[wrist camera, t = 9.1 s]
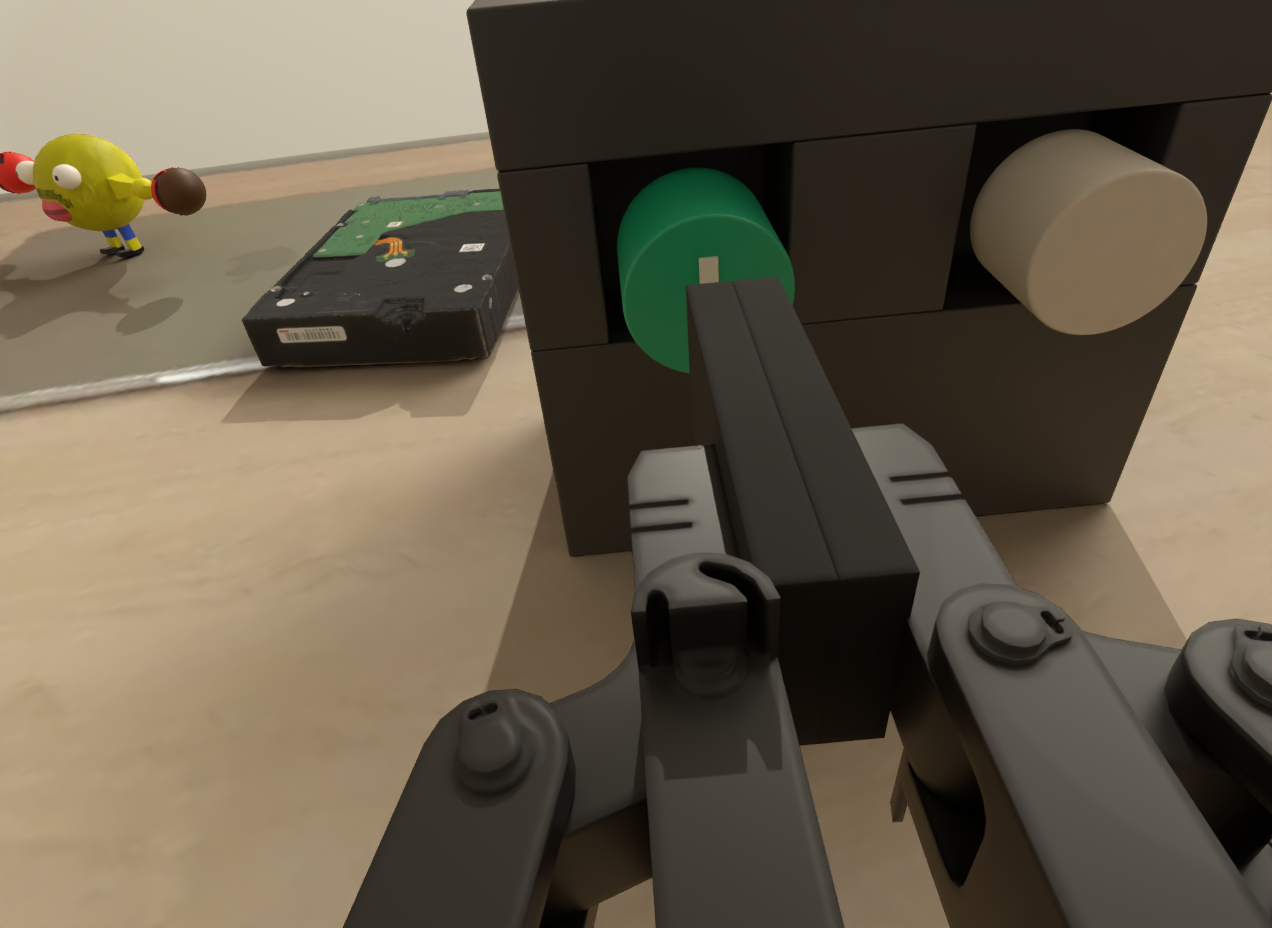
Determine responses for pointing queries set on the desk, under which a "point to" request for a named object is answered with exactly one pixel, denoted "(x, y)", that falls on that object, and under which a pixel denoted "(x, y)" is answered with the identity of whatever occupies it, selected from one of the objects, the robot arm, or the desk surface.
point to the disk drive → (394, 286)
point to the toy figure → (98, 187)
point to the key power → (690, 253)
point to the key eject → (1087, 230)
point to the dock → (853, 209)
